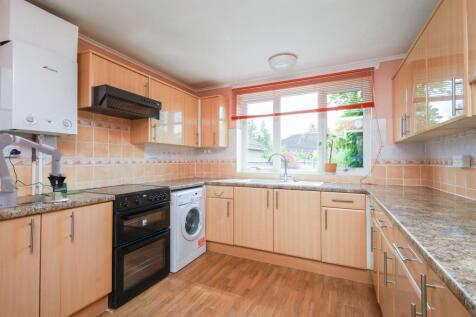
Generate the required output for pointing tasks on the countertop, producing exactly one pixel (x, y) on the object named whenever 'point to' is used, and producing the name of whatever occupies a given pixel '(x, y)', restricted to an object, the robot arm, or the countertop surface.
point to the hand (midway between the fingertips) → (56, 186)
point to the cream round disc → (56, 200)
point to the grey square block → (37, 198)
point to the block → (56, 196)
